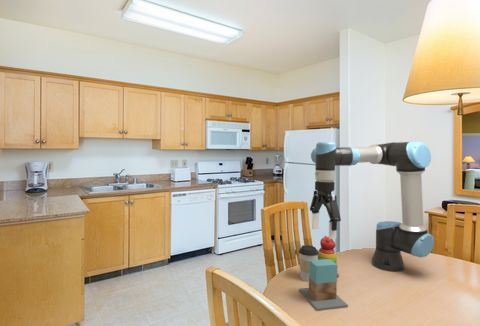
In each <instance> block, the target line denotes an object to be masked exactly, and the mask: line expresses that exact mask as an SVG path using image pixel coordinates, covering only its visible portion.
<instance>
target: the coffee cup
mask: <svg viewBox="0 0 480 326" xmlns="http://www.w3.org/2000/svg"><path fill="white" fill-rule="evenodd" d="M318 251H319V249H317V247H316V246H313V245H301V246H300V248H299V250H298V255H299V257H298V260H299V270H300V280H302V281H304V282H308V283H309V265H310V260H318V254H319V253H318Z"/></svg>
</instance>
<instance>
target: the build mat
mask: <svg viewBox="0 0 480 326" xmlns="http://www.w3.org/2000/svg"><path fill="white" fill-rule="evenodd" d="M298 291H299V292H300V294H302V295H303V297H304V298H305V299H306V300H307V301H308V303H310V305H311V306H312V307H313V309H315V311H317V312H318V311H319V312H320V311H327V310H335V309H345V308H349V304H347V303H346V302H345V301H344V299H342V298H341V297H340V296H339V295H337V294H336V299H332V300H323V301H315V300H314V299H313V298H312V297H311V296H310V295H309V287H302V288H298Z"/></svg>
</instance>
